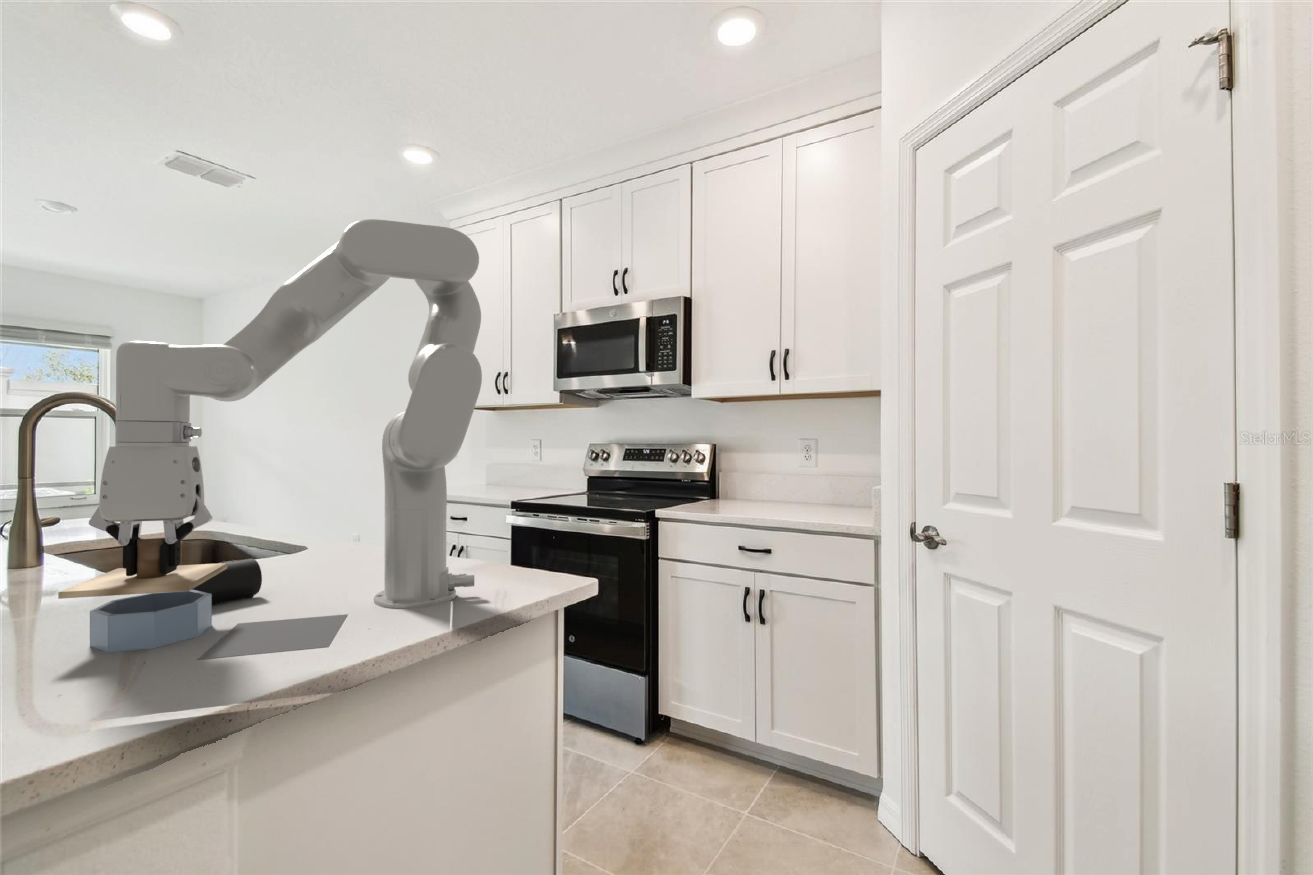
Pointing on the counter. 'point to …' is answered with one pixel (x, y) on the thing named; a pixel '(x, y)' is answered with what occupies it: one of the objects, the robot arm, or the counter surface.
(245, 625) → the mat
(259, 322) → the robot arm
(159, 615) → the bowl
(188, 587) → the lid
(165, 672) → the counter surface
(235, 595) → the end cap
